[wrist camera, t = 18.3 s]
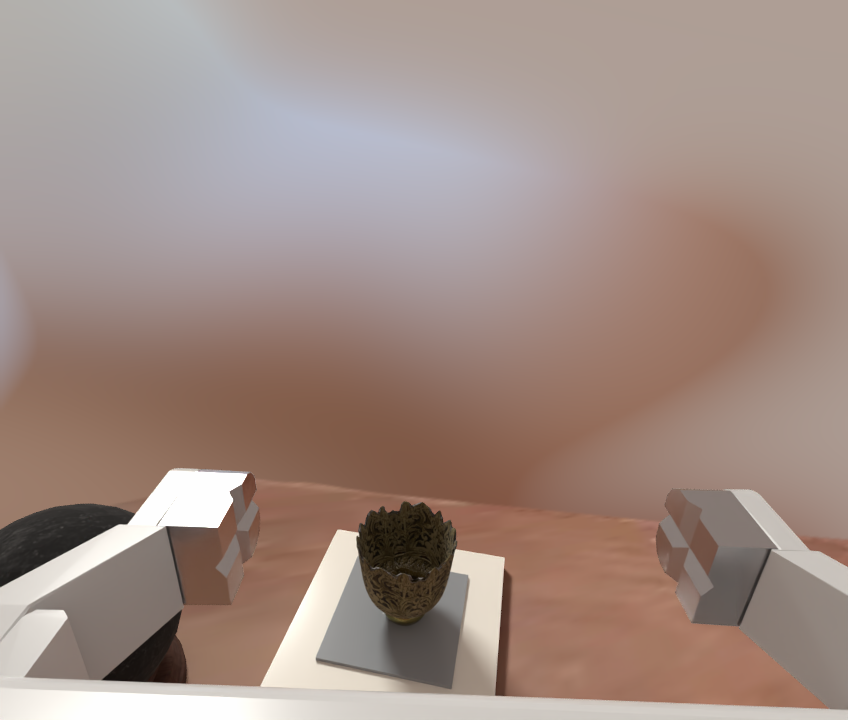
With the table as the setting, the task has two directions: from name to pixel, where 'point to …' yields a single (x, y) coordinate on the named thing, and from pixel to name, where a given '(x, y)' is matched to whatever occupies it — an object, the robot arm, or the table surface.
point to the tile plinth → (393, 632)
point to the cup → (406, 560)
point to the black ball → (65, 530)
